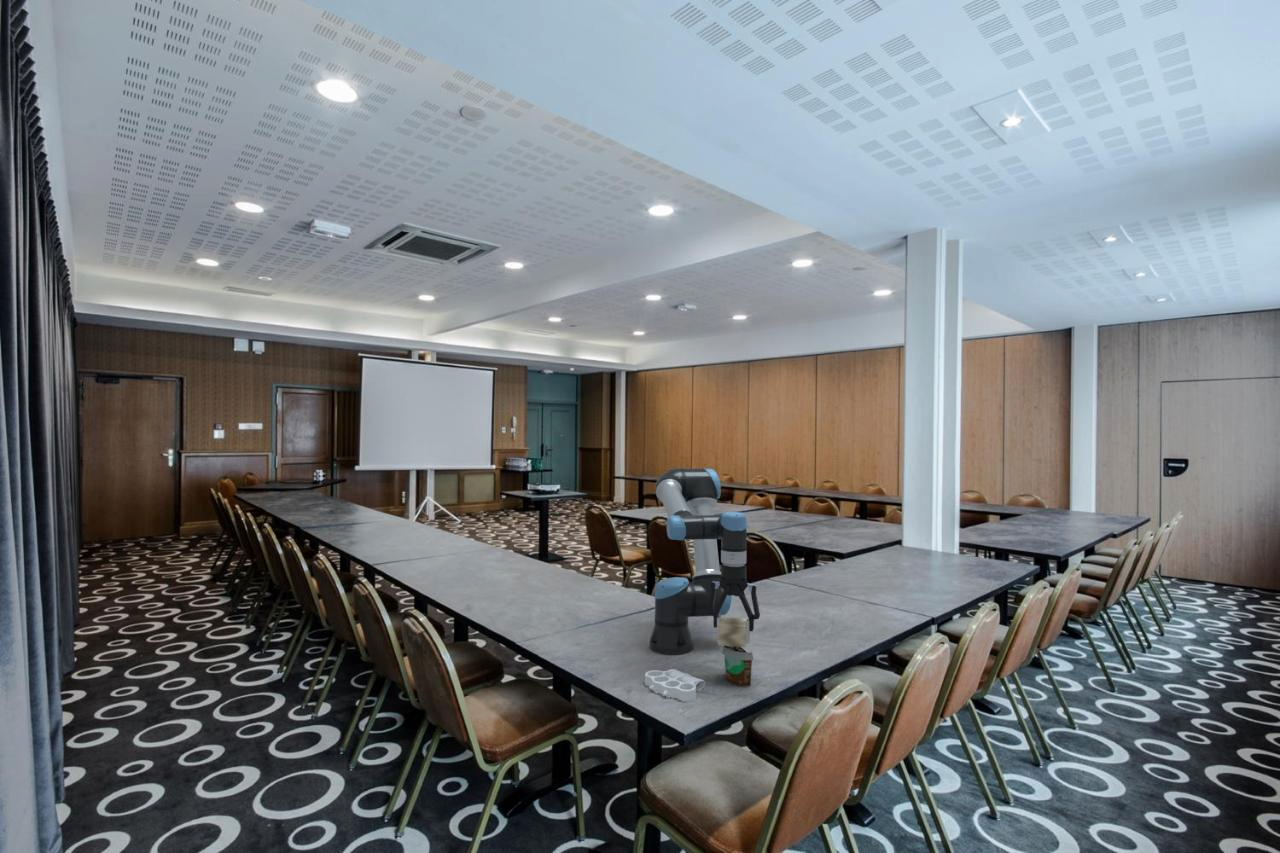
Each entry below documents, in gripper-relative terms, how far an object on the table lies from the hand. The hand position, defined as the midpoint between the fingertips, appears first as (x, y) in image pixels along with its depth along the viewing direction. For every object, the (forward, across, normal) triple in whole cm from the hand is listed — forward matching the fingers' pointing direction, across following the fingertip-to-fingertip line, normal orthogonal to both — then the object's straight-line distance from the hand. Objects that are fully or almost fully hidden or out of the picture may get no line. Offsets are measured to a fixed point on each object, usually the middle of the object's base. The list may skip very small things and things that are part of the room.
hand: (733, 640), depth 183 cm
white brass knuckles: (+13, -16, -11) cm, 23 cm away
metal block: (0, 0, 0) cm, 1 cm away
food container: (+12, 0, 0) cm, 12 cm away
